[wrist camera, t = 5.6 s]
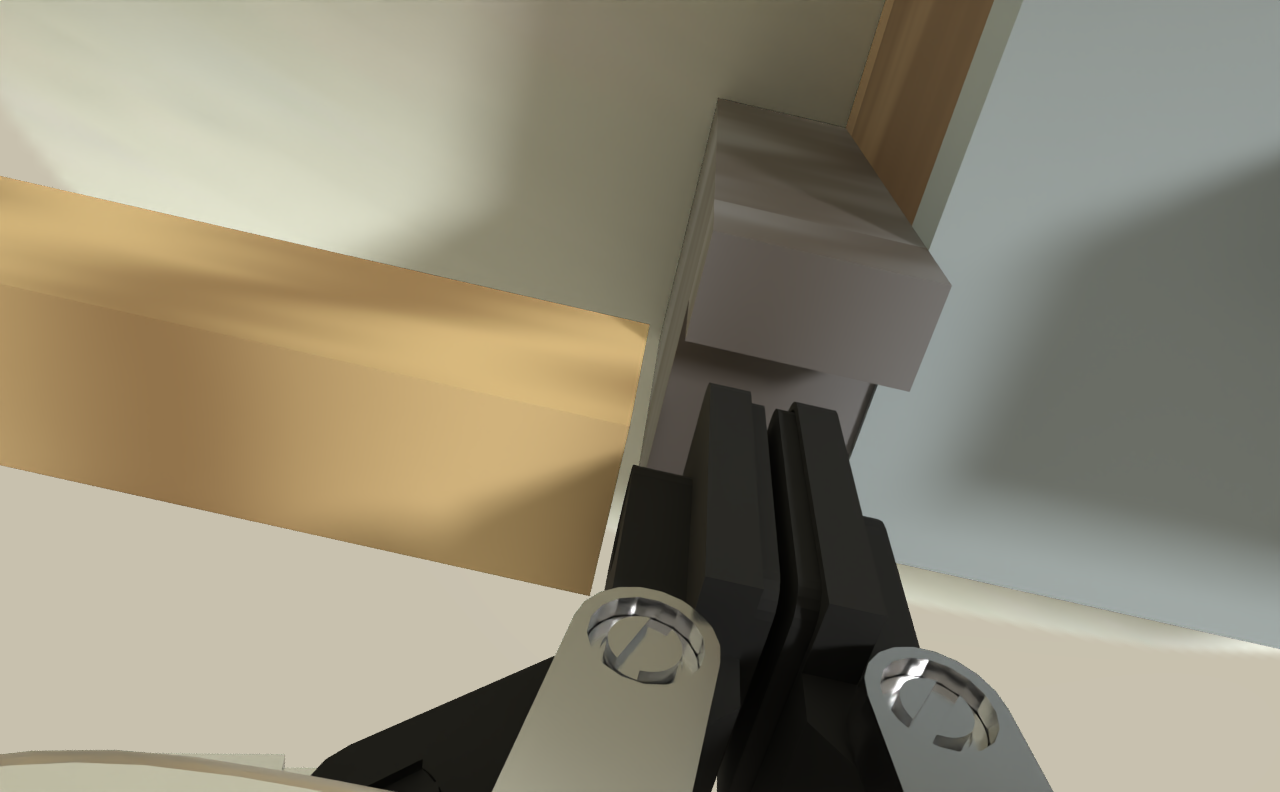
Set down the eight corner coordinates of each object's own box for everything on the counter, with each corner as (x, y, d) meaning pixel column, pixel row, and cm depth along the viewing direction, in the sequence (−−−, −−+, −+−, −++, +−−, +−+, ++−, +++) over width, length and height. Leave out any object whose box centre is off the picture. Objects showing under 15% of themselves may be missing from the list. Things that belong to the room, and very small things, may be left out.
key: (649, 324, 13) (615, 500, 9) (615, 469, 14) (570, 685, 10) (-48, 165, 12) (-416, 269, 8) (-24, 325, 14) (-337, 485, 10)
